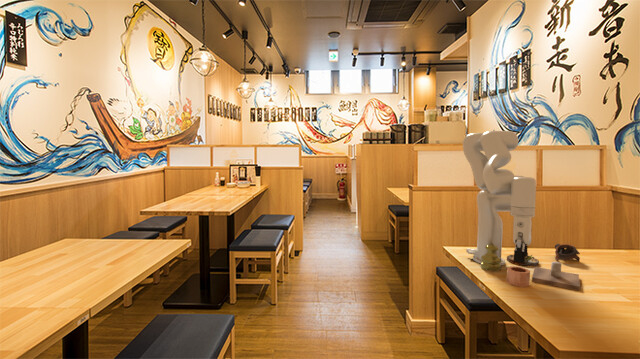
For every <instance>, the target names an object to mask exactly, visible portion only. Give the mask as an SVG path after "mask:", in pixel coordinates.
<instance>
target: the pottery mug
mask: <svg viewBox="0 0 640 359" xmlns="http://www.w3.org/2000/svg"><path fill="white" fill-rule="evenodd" d="M554 248H555V256H554V259H555V261H556V262H559V261H570V260H576V261H577V262H580V260H581V259H580V257H579V255H580V254H581V253H580V252H579V250H578V249H577V248H576V247H575V246H574V245H572V244H569V243H568V244H567V243H563V244H560V243H556V244H555V245H554Z"/></svg>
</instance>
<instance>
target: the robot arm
mask: <svg viewBox="0 0 640 359" xmlns="http://www.w3.org/2000/svg"><path fill="white" fill-rule="evenodd" d="M518 145H519V137H518V135H517V134H516V133H515V132H514V131H510V130H489V131H486V132H473V133H469V134H466V136H464V138H463V140H462V149H463V150H462V151H463V153H464V156H465V158H466V160H467V162H468V163H469V165H470V168H471V172H472V175H473V180H474V182H475V185H476V187H477V188H478V189H479V190H480V191H478V193H477V196H476V203H477V204H476V205H477V213H478V217H477V218H478V222H477V241H476V244H477V245H476V248H474V249H473V248H468V247H466V253H467V254H468V255H473V256H472V260H473V261H474V262H475V263H477V264H481V261H482V260H481V256H482V255H484V254H486V253H487V252H488V250H487V249H486V248H485V246H486V245H490V244H494V245H495V246H497V247H498V248H499V250H497V251H496V252H495V253H496V255H498V256H499V257H500V258H501V263H500V264H501V266H503V265H505V264H506V260H505V259H504V258H502V249H503V248H502V247H503V246H502V245H503V227H504V222H503V220H502V217H501V216H500V215H499V212H509V214H510V216H512V217H513V223H512V224H513V229H512V230H513V231H512V233H513V235H512V237H513V238H512V239H513V243H514V244H515V245H514V250H513V255H514V262H520V263H524V262H525V257H527V252H528V246H530V245H531V243H532V226H533V225H532V223H533V222H532V218H535V217H536V197H537V196H536V194H537V181H536V179H535V177H529V176H528V177H527V176H523V175H515V174H514V172H513V171H512V170H509V169H507V168H506V169H505V168H503V167H505V166H507V165H508V164H510V161H511V159H512V154H511V151H515V149H517V148H518ZM483 152H484V153H483Z"/></svg>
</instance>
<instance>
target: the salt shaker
mask: <svg viewBox="0 0 640 359" xmlns="http://www.w3.org/2000/svg"><path fill="white" fill-rule="evenodd" d="M485 248H486V249H487V250H488V252H487V253H486V254H484V255H482V256H481V260H482V261H481V263H480V268H482V270H486V271H488V272H499V271H501V270H502V269H501V267H502V265H501V264H500V263H501V258H502V257H501V258H500V257H499V256H498V255H496V253H495V252H496V251H497V250H499V248H498V247H497V246H495V245H494V244H490V245H486V246H485Z"/></svg>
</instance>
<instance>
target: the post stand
mask: <svg viewBox="0 0 640 359" xmlns="http://www.w3.org/2000/svg"><path fill="white" fill-rule="evenodd" d="M531 282H532V283H533V282H534V283H539V284H544V285H549V286H553V287H558V288H564V289H568V290H569V289H570V290H574V291H578V292H580V289H581V284H580V283H581V282H580V274H578V273H574V272H573V273H572V272H566V271H562V262H559V261H551V268H544V267H539V266H535V267H533V273H532V275H531Z"/></svg>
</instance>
